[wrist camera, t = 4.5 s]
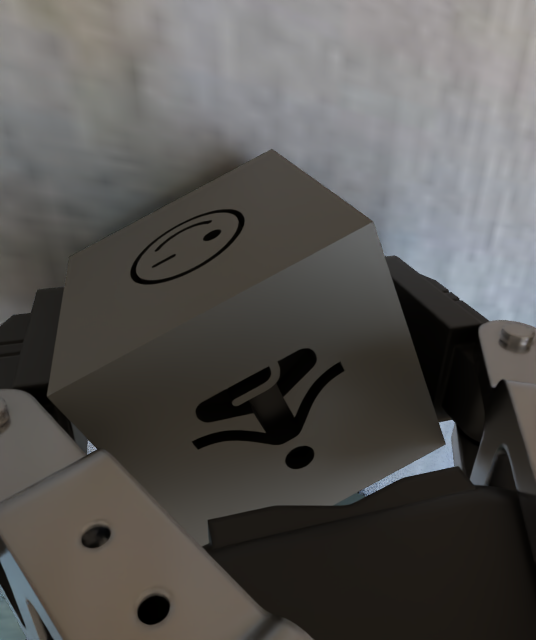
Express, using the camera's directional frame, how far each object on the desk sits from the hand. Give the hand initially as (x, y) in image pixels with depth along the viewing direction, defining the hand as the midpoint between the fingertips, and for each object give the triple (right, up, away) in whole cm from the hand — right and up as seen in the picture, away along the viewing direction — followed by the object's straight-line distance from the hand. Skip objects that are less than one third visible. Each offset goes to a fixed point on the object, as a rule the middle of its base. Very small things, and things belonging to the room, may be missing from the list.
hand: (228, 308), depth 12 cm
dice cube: (0, +1, +1) cm, 1 cm away
